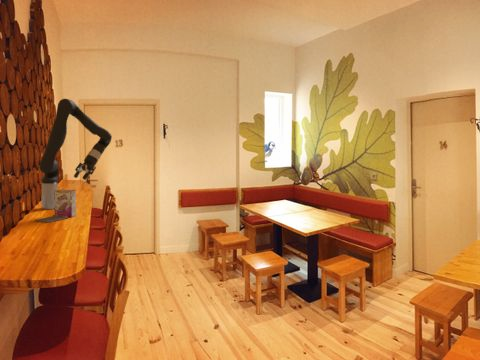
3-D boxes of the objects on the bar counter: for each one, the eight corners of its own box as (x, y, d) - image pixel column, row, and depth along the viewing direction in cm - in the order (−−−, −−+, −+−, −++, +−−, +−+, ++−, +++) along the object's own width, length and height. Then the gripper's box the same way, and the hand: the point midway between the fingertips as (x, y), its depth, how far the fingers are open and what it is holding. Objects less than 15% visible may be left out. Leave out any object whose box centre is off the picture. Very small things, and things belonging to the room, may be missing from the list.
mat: (34, 220, 193) (34, 218, 193) (54, 216, 205) (54, 214, 205) (48, 222, 189) (48, 220, 189) (67, 218, 201) (67, 216, 201)
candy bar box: (54, 216, 205) (53, 189, 203) (59, 215, 210) (58, 188, 208) (71, 217, 204) (71, 190, 202) (76, 215, 209) (76, 189, 207)
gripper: (104, 162, 222) (90, 182, 216) (89, 159, 229) (76, 179, 222) (96, 155, 217) (82, 176, 210) (81, 153, 223) (67, 173, 217)
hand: (79, 178), depth 216 cm, fingers open, 8 cm apart
